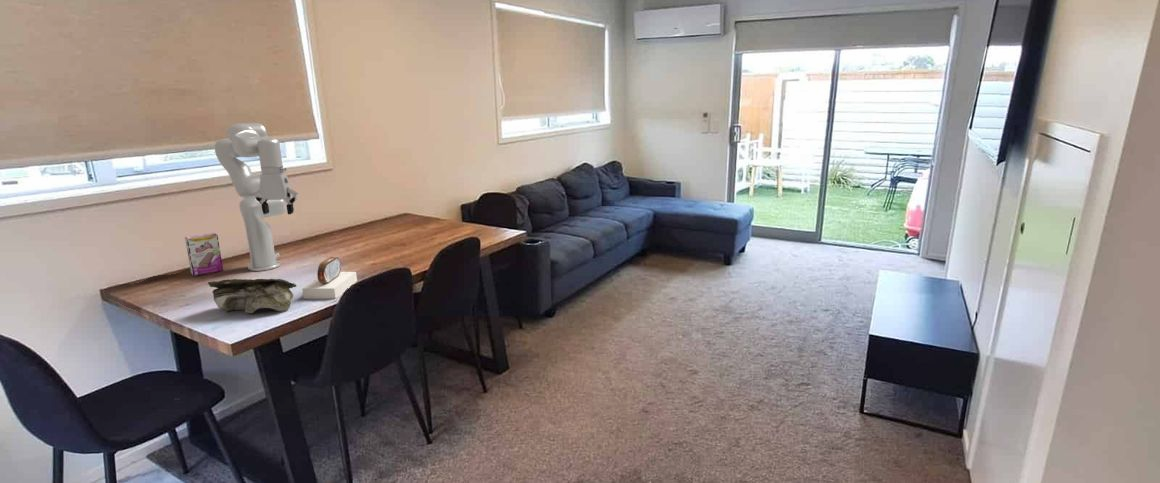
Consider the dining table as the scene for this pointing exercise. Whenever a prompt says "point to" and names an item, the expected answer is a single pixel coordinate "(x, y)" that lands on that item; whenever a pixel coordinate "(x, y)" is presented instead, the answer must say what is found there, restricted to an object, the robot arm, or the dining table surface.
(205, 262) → the candy bar box
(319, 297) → the plinth
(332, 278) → the tin
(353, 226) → the dining table surface
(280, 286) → the hollow geode rock
